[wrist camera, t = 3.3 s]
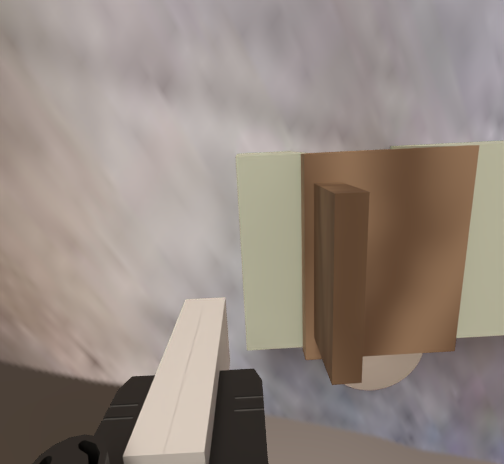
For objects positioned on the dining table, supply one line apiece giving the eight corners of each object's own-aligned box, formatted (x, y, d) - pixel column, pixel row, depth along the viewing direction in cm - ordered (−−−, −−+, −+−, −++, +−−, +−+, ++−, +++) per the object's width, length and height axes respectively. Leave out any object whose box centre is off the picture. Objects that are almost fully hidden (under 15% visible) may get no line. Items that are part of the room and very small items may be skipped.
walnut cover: (302, 350, 21) (321, 411, 16) (300, 153, 18) (322, 155, 13) (444, 341, 21) (505, 400, 16) (466, 145, 18) (550, 144, 13)
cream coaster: (319, 384, 31) (322, 393, 30) (320, 296, 29) (323, 302, 28) (414, 378, 31) (420, 387, 30) (421, 290, 29) (429, 296, 28)
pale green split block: (245, 295, 29) (246, 350, 21) (237, 153, 26) (235, 156, 18) (517, 280, 29) (618, 328, 21) (541, 138, 26) (668, 135, 18)
